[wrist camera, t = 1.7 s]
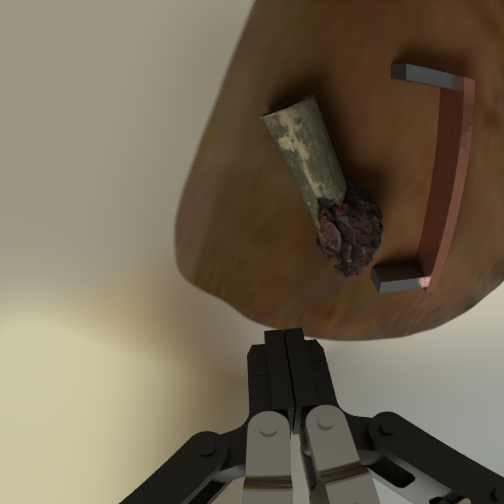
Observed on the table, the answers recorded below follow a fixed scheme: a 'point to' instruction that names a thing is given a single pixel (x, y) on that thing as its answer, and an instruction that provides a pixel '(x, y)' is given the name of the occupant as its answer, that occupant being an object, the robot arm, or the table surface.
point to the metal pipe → (326, 186)
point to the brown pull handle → (437, 180)
